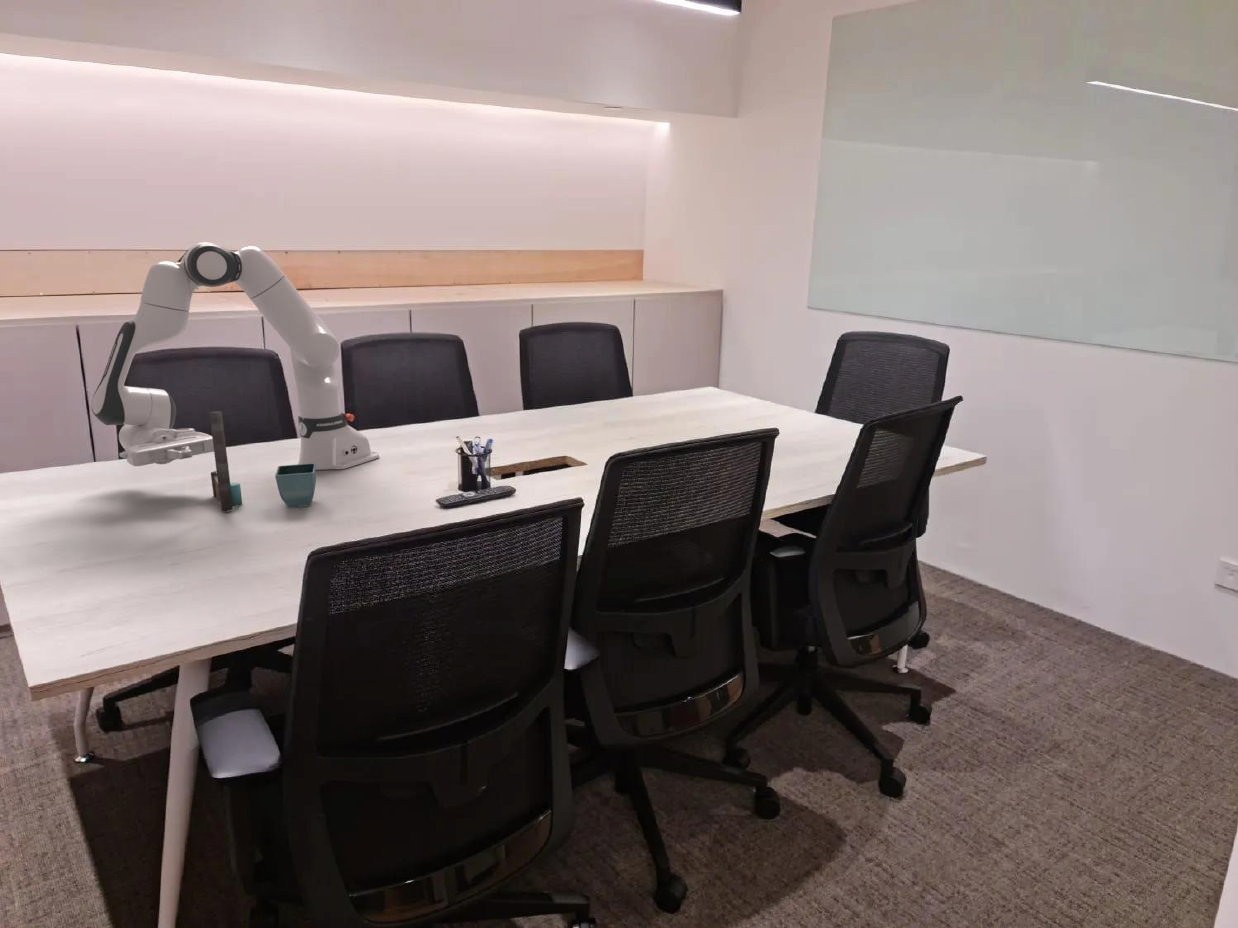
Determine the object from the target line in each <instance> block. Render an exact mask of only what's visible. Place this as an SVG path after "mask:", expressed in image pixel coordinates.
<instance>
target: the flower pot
mask: <svg viewBox="0 0 1238 928" xmlns="http://www.w3.org/2000/svg"><path fill="white" fill-rule="evenodd" d="M274 476H275V480H276V481H275V482H276V485H277V489H278V493H279V496H280V498H281V501H283V503H284V504H285V505H286V507H287V508H298V507H309V506H311V504H312V502H313V499H314V497H315V491H316V484H317V470H316V464H315V463H311V464H299V465H298V464H290V465H288V464H287V465H286V464H285V465H279V466H277V469H276V472H275V474H274Z"/></svg>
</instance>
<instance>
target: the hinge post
mask: <svg viewBox="0 0 1238 928" xmlns="http://www.w3.org/2000/svg"><path fill="white" fill-rule="evenodd" d="M214 476H217V470H214V471H212V472H210V479H211V485H212V495H213V497H215V498H217V496H216V490H215V482H214Z"/></svg>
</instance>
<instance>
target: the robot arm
mask: <svg viewBox="0 0 1238 928" xmlns="http://www.w3.org/2000/svg"><path fill="white" fill-rule="evenodd" d="M231 283H235V284H236V285H237V286H239V288H241V289H242V291H243V292H244V293H245V295H246V296H247V297H248V298H249V299H250V301H251V302H252V303H253V305H254V306H255V307H256V309H258V310H259V312H260V313H261V314H262V316H263V317H264V319H266V321H267V322H268V323H269V325H270V326H272V328H273V329H274V330H275V331H276V332H277V333H278V335H279V336H280V337H281V338H282V340H283V341H284V342H285V343H286V344H287V346H288V347H289V349H290V355H291V362H292V368H293V375H294V379H295V385H296V393H297V403H298V413H299V415H298V416H297V420H298V432H299V436H300V448H299V449H300V450H299V451H300V453H299V459H298V463H297V465H299V464H311V463H315V464H316V471H318V470H320V471H321V470H345V469H347V468H351V467H354V466H357V465H360V464H363V463H367V462H369V461H373V460H377V459H379V458H380V455H379V454H380V453H379V452H377V451H375V450H373V449H371V446H370V441H369V439H368V437H367V436H366V435H365V434H363V433H361V432H360V431H358V430H357V429H355V428H353V427H352V426H350V425H349V423H348V422H353V421H354V420H355V416H354V414H351V413H346V414H345V413H343V412H342V409H341V397H340V387H339V382H338V378H337V373H336V372H337V371H336V368H335V363H336V362H337V360H338V358H339V355H340V344H339V341H338V339H337V337H336V336H335V335H334V333H333V332H332V331H331V330H330V328H329V326H328V325H326V323H325V322H324V321H323V320H322V319H321V317H320V316H319V314H317V313H316V311H315V310H314V309H313V308H312V307H311V305H310V304H309V303H308V302H307V301H306V300H305V298H304V297H303V296H302V294H300V292H299V291H298V290H297V288H296V286H294V284H293V283H292V282H291V280H290V279H289V278H288V276H287V275H286V274H285V273H284V272H283V271H282V269H281V268H280V267H279V266H278V264H277V263H276V262H275V261H274V260H273V259H272V258H271V257H270V256H269V255H268V254H267V253H266V252H264V250H263V249H261V248H259V247H257V246H255V245H251V246H245V247H242V248H239V249H238V250H237V251H232V250H230V249H228V248H226V247H225V246H221V245H219V244H217V243H214V242H209V241H202V242H198V243H195V244H194V245H192V246H190V247H189V248H188V249H187V250H185V252H184V253H183V255H182V256H181V257H180V258H179V259H178V260H177V262H173V261H159V262H155V263H154V264H152V265H151V266H150V268H149V270H148V272H147V275H146V278H145V281H144V284H143V288H142V291H141V297H140V303H139V307H138V309H137V311H136V313H135V315H134V316H133V317H132V318H131V319H130V320H129V321H125V322H124V323H123V324H122V326H121V327H120V329H119V331H118V333H117V335H116V338H115V340H114V343H113V345H112V349H111V351H110V354H109V356H108V360H107V363H106V366H105V368H104V372H103V374H102V376H101V380H100V382H99V384H98V386H97V387H96V390H95V391H94V394H93V396H92V400H91V411H92V413H93V415H94V416H95V418H96V419H98V421H100V422H101V423H102V424H104V425H105V426H122V425H123V426H122V427H121V428H120V431H119V433H118V440H119V443H120V444H121V446H122V448H123V449H124V451H122V452H119V457H120V458H122V459H126V462H127V463H128V464H130V465H131V466H133V467H142V466H147V465H151V464H157V465H166V464H167V465H168V464H169V463H172V462H173V461H176V460H184V459H191V458H193V456H197V455H199V456H200V455H203V454H208V453H214V446H213V438H212V435H210V434H208V433H204V432H200V431H196V429H194V428H193V427H192V428H191V427H188V428H173V427H174V425H175V421H176V417H177V407H176V403H175V401H174V400H173V398H172V396H171V394H170V393H169V392H168V391H166V390H165V389H159V388H151V387H138V386H127V385H125V382H126V379H127V377H128V374H129V370H130V367H131V365H132V362H133V359H134V357H135V355H136V354H137V353H139V351H141V350H142V349H145V348H147V347H150V346H153V345H154V346H155V345H159V344H163V343H168V342H171V341H172V340H175V339H177V338H178V337H180V335H182V334H183V333H184V331H185V329H186V327H187V325H188V321H189V315H190V309H191V308H190V307H191V306H190V305H191V300H192V296H193V294H194V292H195V291H196V290H197V289H198V288H200V287H206V288H214V287H215V288H216V287H221V286H224V285H226V284H227V285H228V284H231ZM347 421H348V422H347Z"/></svg>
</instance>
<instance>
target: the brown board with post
mask: <svg viewBox="0 0 1238 928" xmlns="http://www.w3.org/2000/svg"><path fill="white" fill-rule="evenodd" d="M209 420H210V429H211V436H212V438H213V446H214V452H213V454H214V462H215V468H216V469H215V471H217V476H214V482H215V490H216V496H217V497H216V498H217V500H218V502H219V504H220V509H221V512H232V511H233V510H234V506H233V502H232V493H231V485H230V484H231V478H230V470H229V460H228V454H227V447H226V446H227V444H226V437H225V429H224V421H223V413H222V411H211V412H209Z"/></svg>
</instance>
